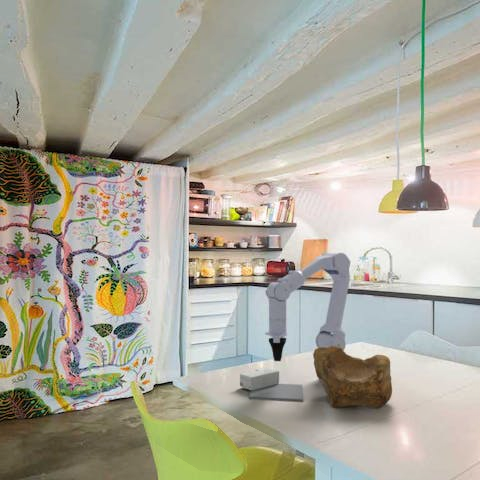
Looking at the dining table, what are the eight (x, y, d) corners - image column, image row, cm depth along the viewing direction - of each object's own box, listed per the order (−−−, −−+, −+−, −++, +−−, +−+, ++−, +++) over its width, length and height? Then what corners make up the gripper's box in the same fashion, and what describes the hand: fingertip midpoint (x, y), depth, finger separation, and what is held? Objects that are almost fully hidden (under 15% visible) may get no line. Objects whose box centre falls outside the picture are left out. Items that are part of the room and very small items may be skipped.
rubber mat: (302, 386, 134) (302, 384, 134) (303, 401, 120) (303, 399, 120) (253, 384, 136) (253, 382, 136) (249, 398, 122) (249, 396, 122)
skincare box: (279, 370, 135) (251, 376, 127) (279, 384, 134) (251, 391, 127) (266, 367, 140) (239, 372, 132) (266, 380, 139) (239, 386, 132)
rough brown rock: (300, 408, 117) (300, 356, 116) (316, 386, 132) (316, 341, 131) (386, 426, 106) (387, 370, 106) (393, 401, 121) (393, 351, 121)
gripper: (267, 315, 142) (266, 355, 141) (263, 322, 128) (263, 365, 127) (287, 316, 141) (287, 355, 140) (286, 322, 127) (286, 366, 126)
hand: (277, 360), depth 134 cm, fingers closed
